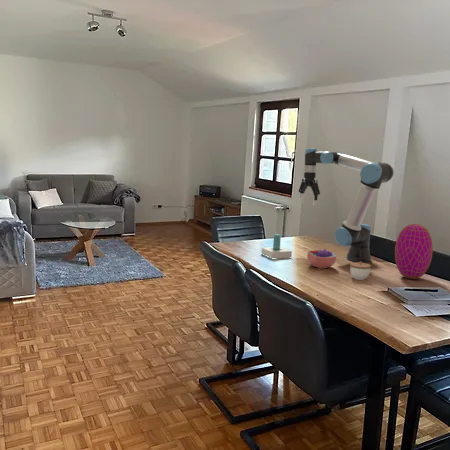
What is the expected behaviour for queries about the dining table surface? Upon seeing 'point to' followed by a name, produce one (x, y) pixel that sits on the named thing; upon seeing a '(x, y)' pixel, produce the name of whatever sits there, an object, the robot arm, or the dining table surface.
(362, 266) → the lidded jar
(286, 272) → the dining table surface
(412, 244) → the decorative egg
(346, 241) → the robot arm
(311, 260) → the cell model
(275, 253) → the socket block
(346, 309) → the dining table surface
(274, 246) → the peg
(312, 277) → the dining table surface
